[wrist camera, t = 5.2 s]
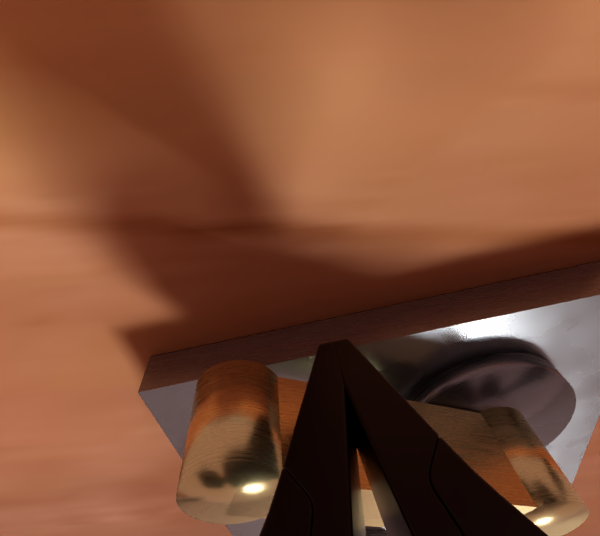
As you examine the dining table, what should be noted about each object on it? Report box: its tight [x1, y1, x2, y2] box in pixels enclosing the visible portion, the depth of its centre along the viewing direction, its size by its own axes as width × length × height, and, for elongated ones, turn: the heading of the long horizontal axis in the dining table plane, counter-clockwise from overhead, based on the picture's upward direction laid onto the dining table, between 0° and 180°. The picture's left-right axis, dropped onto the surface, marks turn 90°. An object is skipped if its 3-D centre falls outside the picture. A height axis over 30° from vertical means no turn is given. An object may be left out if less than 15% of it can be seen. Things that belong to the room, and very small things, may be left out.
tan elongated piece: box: [176, 352, 589, 536], centre depth 11 cm, size 13×6×4 cm, turn 70°
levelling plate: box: [138, 261, 600, 536], centre depth 16 cm, size 16×17×2 cm
